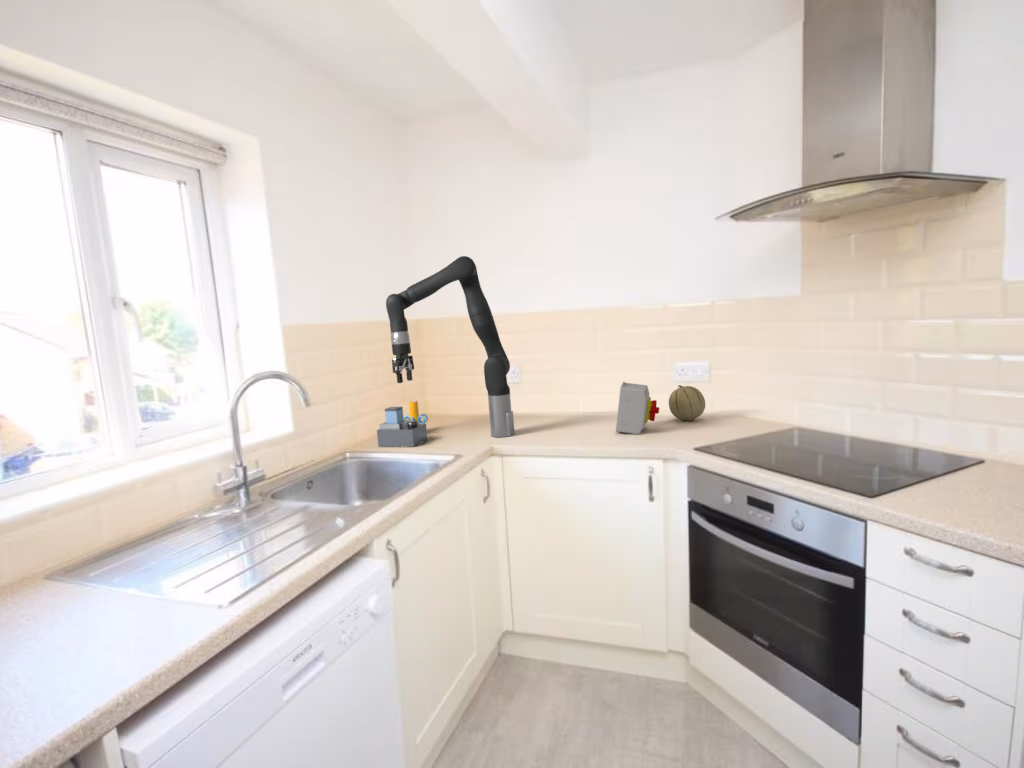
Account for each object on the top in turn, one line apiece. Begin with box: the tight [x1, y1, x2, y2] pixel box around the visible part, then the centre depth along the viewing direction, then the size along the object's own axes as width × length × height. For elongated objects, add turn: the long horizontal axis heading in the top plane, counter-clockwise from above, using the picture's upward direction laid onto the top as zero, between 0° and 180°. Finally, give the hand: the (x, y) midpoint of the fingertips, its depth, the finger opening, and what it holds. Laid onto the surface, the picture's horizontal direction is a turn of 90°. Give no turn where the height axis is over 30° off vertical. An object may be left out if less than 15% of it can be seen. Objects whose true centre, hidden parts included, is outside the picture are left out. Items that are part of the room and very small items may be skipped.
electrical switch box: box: [615, 381, 660, 435], centre depth 203 cm, size 15×15×20 cm
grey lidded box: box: [384, 406, 405, 424], centre depth 211 cm, size 5×5×8 cm
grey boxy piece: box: [376, 419, 428, 448], centre depth 211 cm, size 16×12×9 cm
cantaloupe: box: [668, 385, 706, 422], centre depth 217 cm, size 15×15×15 cm
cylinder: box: [403, 400, 429, 424], centre depth 228 cm, size 12×10×15 cm
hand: (405, 381), depth 214 cm, fingers open, 8 cm apart
